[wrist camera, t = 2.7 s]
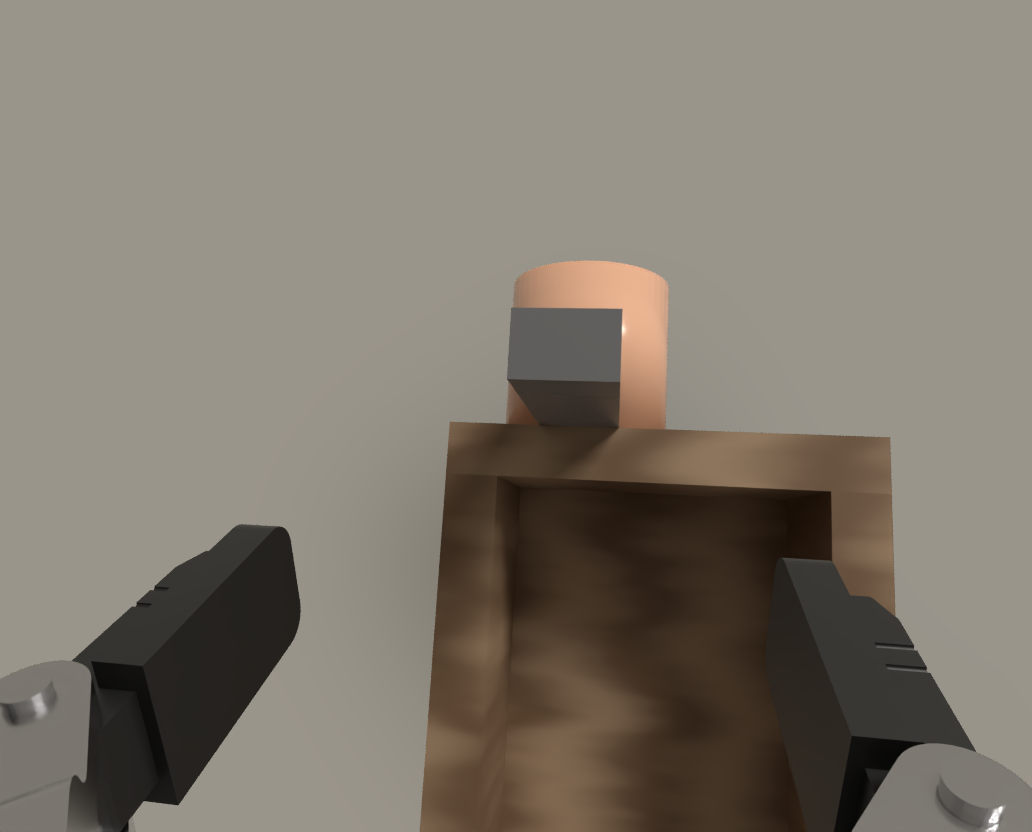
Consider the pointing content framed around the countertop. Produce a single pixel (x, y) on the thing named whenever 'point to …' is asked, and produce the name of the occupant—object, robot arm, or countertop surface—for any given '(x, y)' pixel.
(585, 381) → the peach cylinder
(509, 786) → the stand
